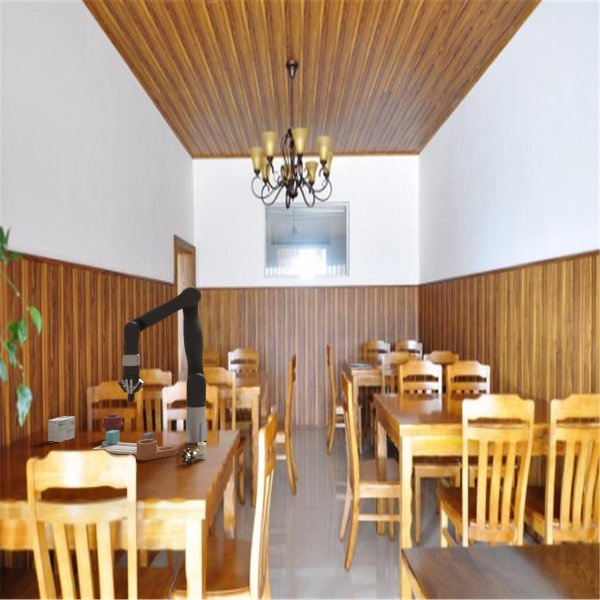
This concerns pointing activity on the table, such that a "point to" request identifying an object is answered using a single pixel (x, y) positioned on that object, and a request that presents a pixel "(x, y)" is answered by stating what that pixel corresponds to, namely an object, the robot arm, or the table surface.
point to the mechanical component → (112, 422)
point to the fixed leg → (148, 436)
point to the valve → (195, 453)
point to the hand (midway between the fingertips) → (131, 401)
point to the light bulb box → (61, 428)
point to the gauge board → (120, 448)
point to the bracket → (153, 450)
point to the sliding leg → (112, 437)
